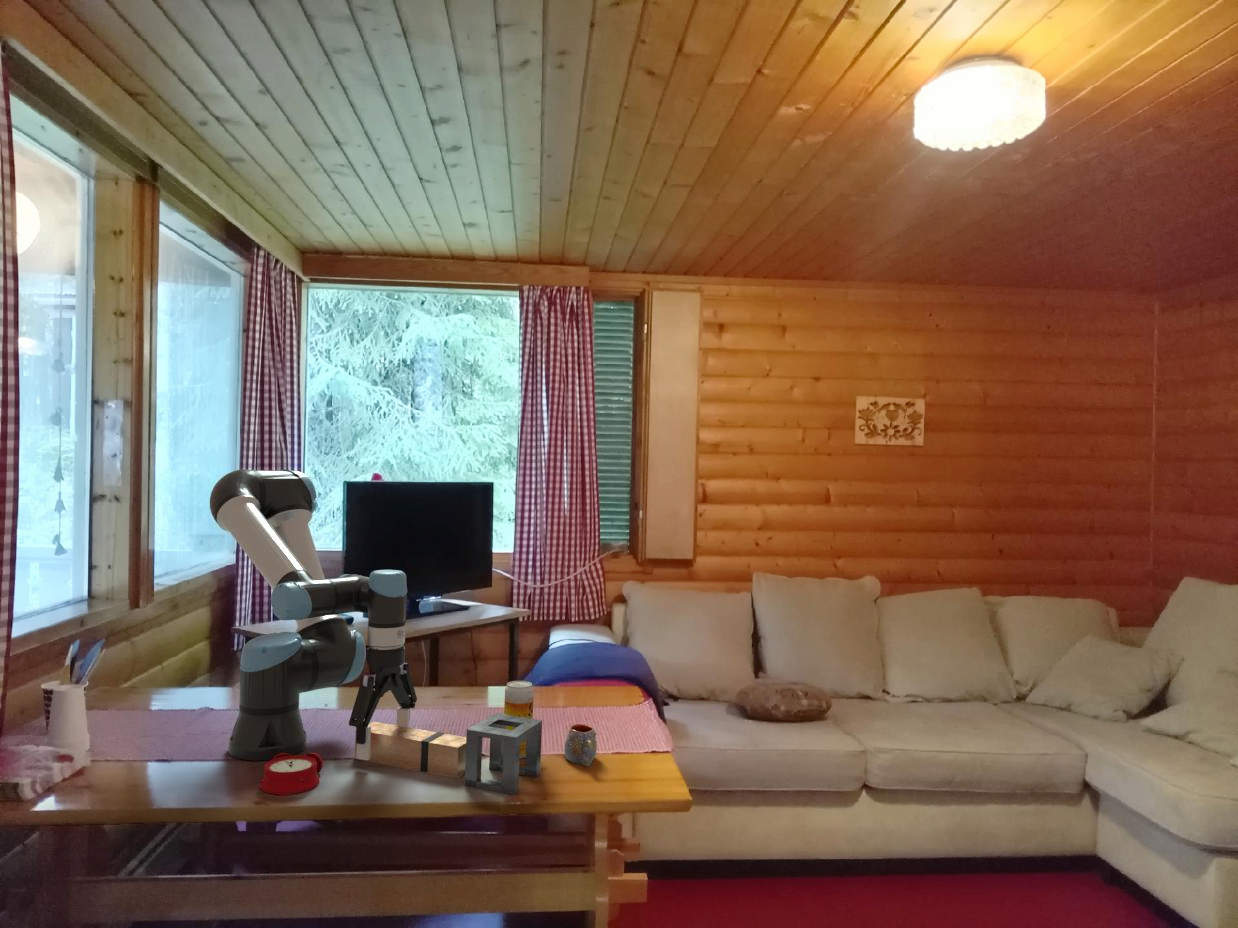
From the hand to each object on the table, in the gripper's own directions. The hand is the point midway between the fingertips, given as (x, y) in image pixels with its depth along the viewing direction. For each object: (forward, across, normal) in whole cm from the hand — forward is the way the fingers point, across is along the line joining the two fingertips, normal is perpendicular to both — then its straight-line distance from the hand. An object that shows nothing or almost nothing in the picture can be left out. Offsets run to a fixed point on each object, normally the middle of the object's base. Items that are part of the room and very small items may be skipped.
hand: (383, 748), depth 176 cm
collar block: (+2, 0, -28) cm, 28 cm away
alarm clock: (+2, -18, +8) cm, 20 cm away
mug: (+3, +16, -38) cm, 41 cm away
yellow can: (+2, +14, -24) cm, 28 cm away
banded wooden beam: (+2, 0, -7) cm, 7 cm away
